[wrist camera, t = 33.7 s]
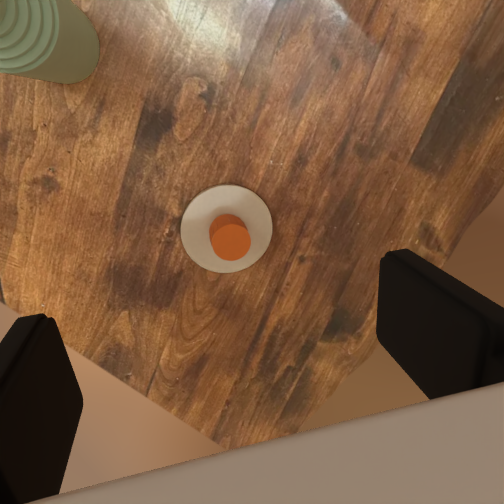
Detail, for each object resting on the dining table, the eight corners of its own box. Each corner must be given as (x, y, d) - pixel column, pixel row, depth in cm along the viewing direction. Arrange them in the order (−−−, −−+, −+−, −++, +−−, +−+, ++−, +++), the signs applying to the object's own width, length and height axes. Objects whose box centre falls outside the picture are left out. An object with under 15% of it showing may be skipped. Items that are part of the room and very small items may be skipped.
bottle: (33, 87, 32) (-111, 71, 16) (6, 1, 29) (-198, -122, 13) (108, 79, 33) (42, 56, 17) (88, -5, 30) (-12, -127, 14)
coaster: (188, 277, 41) (189, 280, 41) (172, 190, 37) (172, 192, 37) (274, 262, 43) (275, 264, 42) (266, 177, 39) (268, 178, 38)
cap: (245, 212, 39) (251, 222, 36) (245, 247, 40) (251, 260, 37) (207, 214, 38) (210, 224, 35) (209, 249, 40) (212, 263, 36)
